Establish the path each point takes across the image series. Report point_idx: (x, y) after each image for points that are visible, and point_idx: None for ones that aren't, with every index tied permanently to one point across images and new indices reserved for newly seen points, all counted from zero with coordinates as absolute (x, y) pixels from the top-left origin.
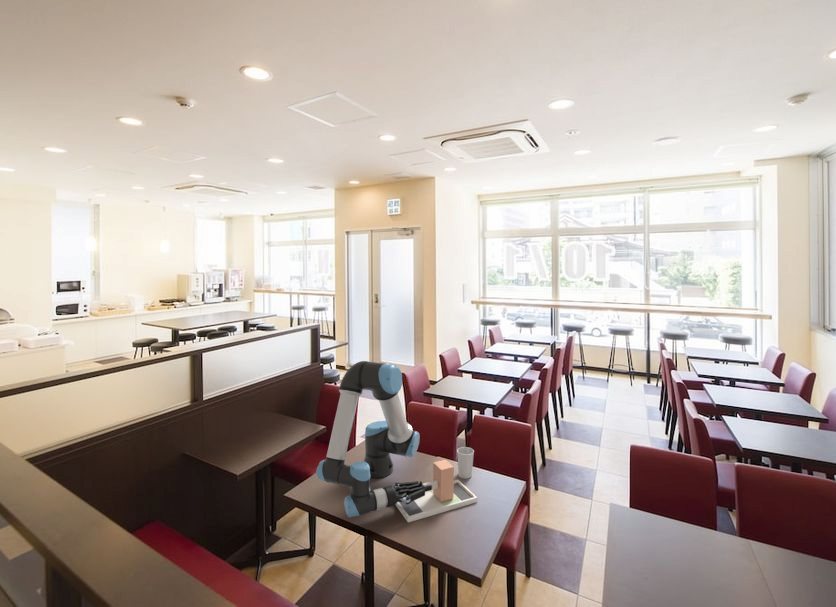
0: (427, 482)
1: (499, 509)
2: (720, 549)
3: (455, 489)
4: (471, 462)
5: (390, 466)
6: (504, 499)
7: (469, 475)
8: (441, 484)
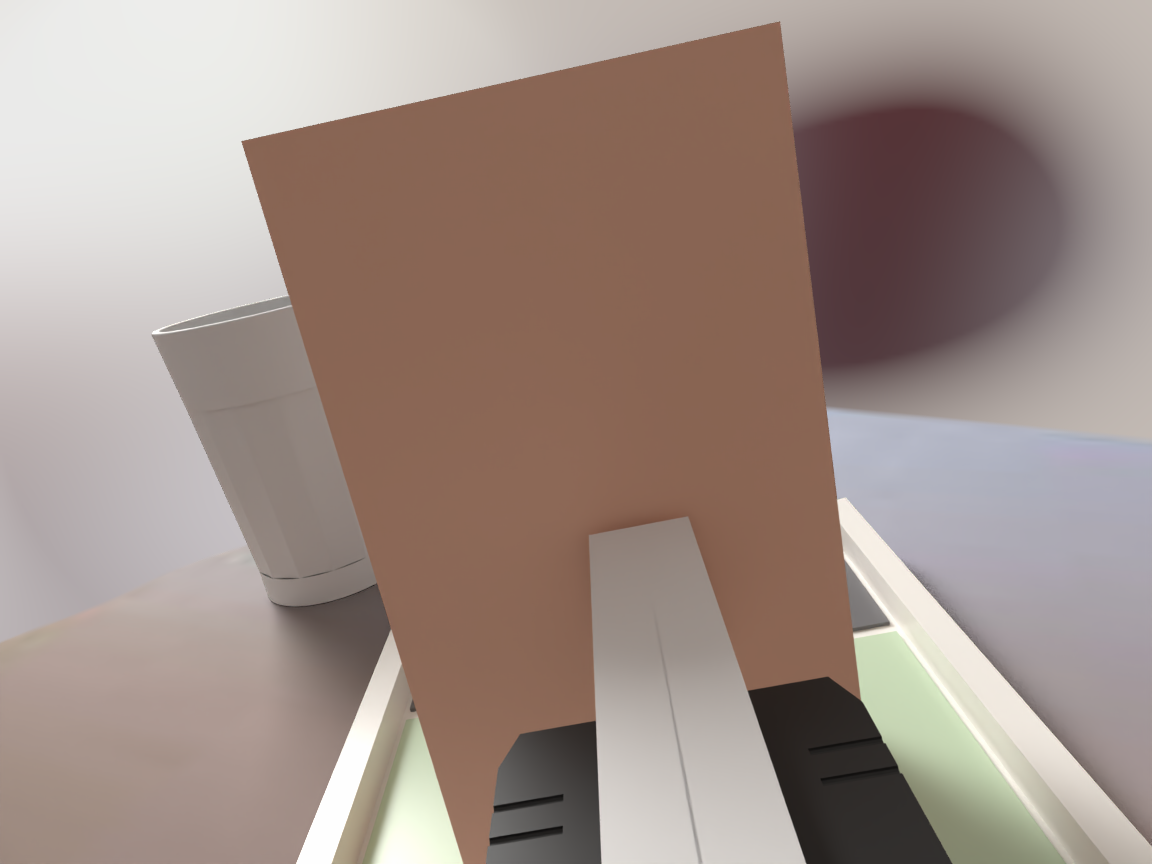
0: (597, 715)
1: (1007, 457)
2: None
3: None
4: None
5: None
6: (842, 435)
7: None
8: (830, 484)
